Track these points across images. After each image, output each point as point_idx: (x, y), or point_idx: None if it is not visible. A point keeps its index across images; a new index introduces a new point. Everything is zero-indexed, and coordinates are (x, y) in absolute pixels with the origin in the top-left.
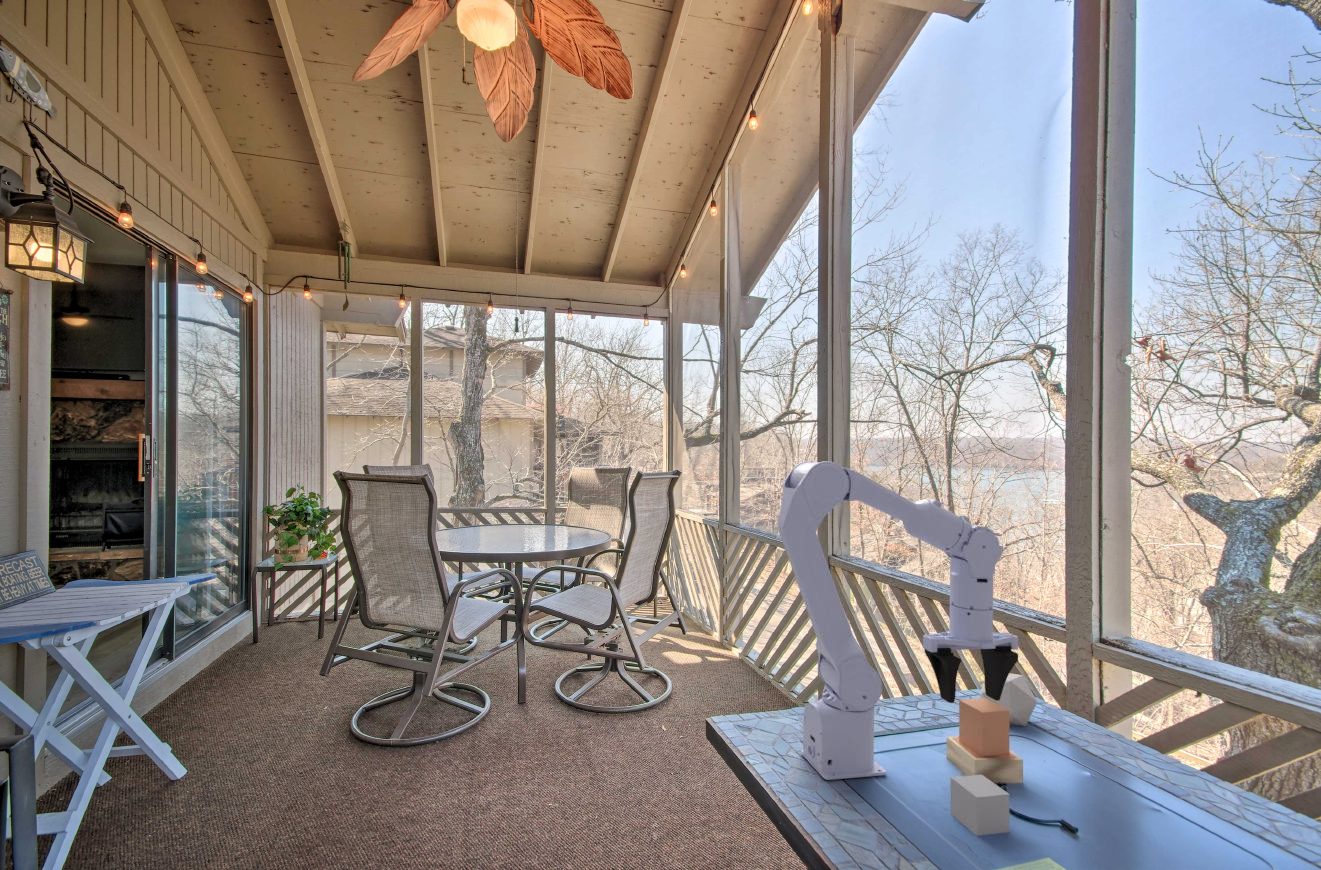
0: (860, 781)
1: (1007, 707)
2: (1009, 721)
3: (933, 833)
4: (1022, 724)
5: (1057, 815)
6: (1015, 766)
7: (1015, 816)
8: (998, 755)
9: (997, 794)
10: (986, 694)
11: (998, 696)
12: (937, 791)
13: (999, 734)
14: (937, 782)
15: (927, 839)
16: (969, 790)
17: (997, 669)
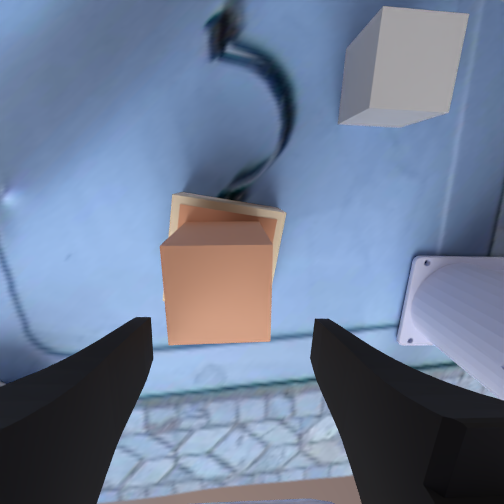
0: (466, 248)
1: None
2: None
3: (476, 78)
4: (4, 383)
5: (208, 74)
6: (192, 196)
7: (293, 91)
8: (218, 218)
9: (411, 12)
10: (152, 358)
11: (139, 321)
12: (365, 196)
13: (209, 230)
14: (342, 222)
15: (499, 65)
16: (458, 47)
17: (89, 405)
